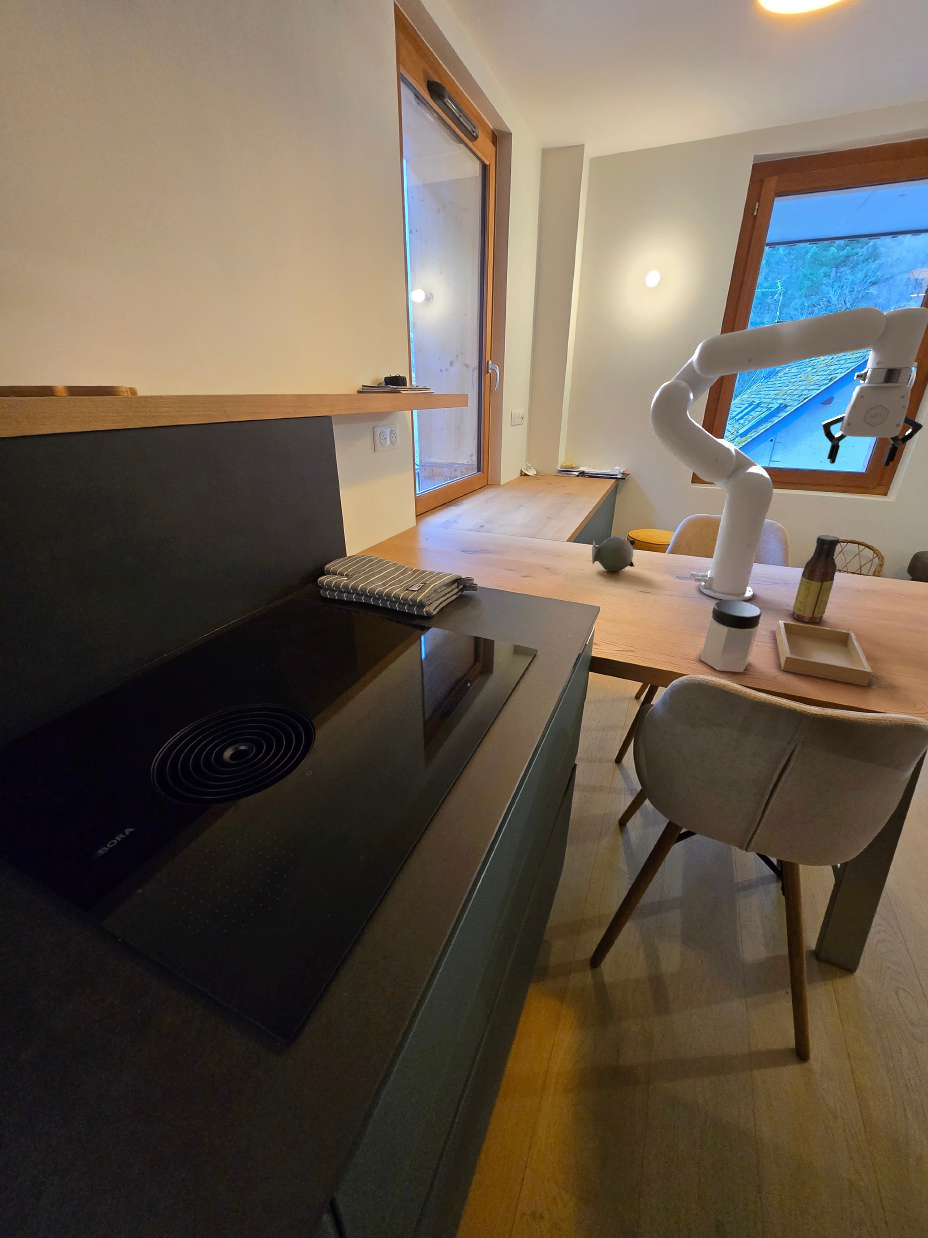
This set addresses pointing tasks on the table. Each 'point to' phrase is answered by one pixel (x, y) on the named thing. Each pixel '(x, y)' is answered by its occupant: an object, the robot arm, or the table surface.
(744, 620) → the jar
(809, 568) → the sauce bottle
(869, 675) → the tray
